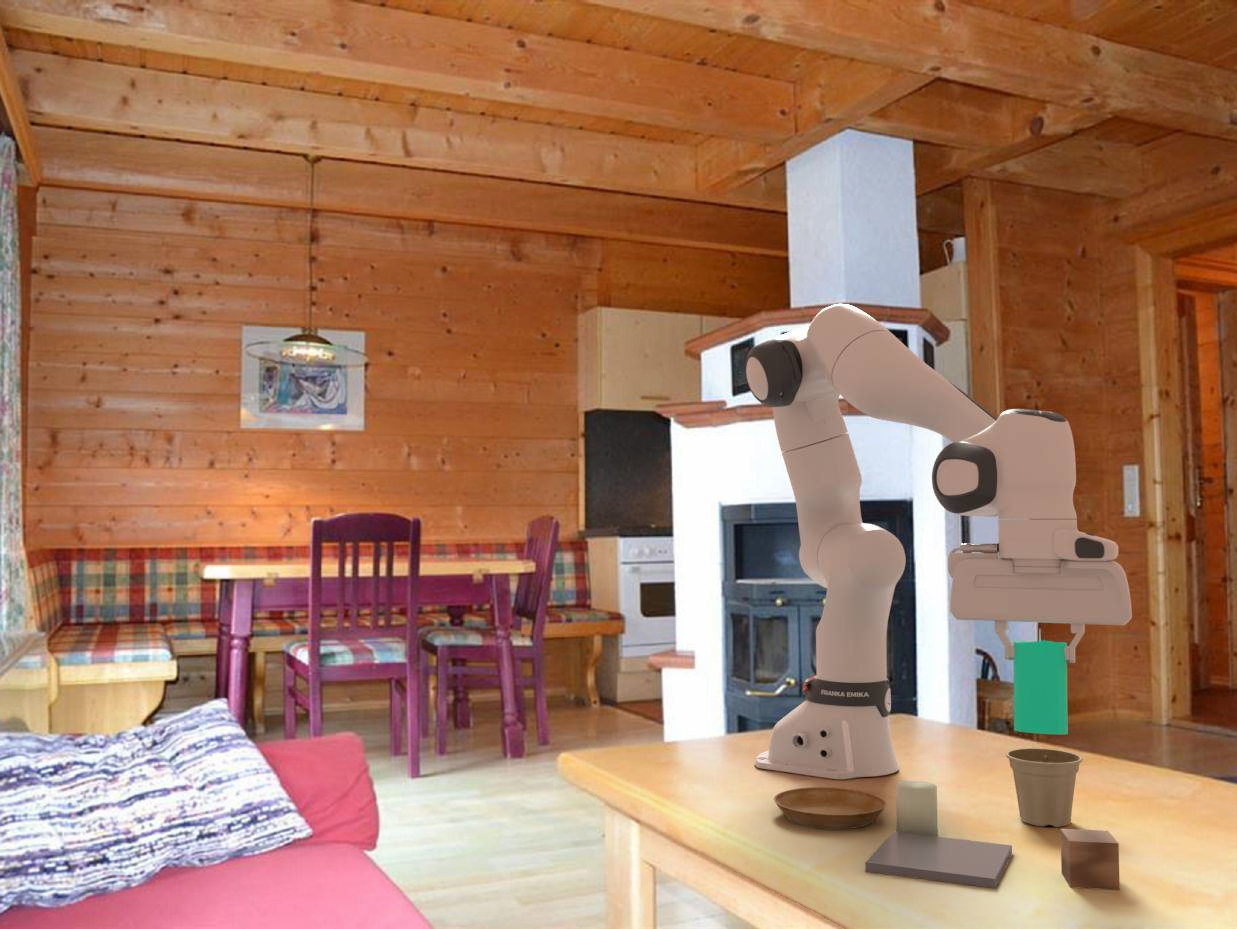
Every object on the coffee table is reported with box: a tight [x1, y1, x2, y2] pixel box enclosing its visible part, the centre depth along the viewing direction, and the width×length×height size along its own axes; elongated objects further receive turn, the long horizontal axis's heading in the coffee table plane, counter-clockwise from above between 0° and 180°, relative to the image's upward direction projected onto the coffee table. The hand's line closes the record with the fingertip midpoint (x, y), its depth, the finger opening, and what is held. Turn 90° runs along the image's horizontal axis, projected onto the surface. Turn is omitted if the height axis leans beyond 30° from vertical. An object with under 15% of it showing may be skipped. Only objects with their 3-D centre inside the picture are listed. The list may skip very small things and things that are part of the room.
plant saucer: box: [773, 786, 887, 830], centre depth 152 cm, size 15×15×3 cm
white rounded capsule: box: [895, 780, 939, 837], centre depth 144 cm, size 5×5×6 cm
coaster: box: [864, 831, 1013, 889], centre depth 132 cm, size 14×14×1 cm
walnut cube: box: [1060, 828, 1121, 891], centre depth 125 cm, size 5×5×5 cm
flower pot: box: [1005, 747, 1083, 828], centre depth 150 cm, size 9×9×9 cm
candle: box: [1013, 628, 1069, 735], centre depth 135 cm, size 6×6×12 cm
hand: (1039, 660), depth 135 cm, fingers closed on candle, 5 cm apart
